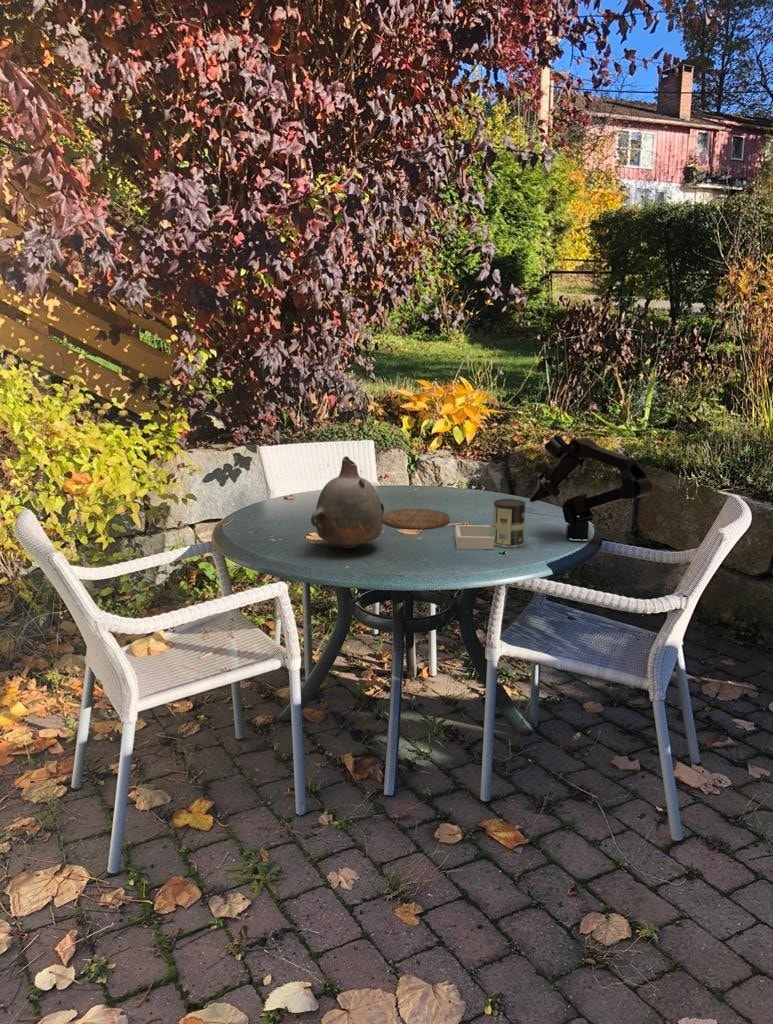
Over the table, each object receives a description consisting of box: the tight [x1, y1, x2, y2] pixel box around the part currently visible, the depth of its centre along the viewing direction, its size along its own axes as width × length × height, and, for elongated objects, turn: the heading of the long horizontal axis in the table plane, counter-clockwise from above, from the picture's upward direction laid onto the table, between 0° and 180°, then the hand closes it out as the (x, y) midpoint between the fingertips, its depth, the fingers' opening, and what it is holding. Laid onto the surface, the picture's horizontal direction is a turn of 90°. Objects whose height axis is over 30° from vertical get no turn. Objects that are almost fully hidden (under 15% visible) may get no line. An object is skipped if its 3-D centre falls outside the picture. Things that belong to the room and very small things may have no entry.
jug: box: [310, 455, 385, 550], centre depth 254 cm, size 24×21×30 cm
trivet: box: [382, 508, 450, 531], centre depth 292 cm, size 25×25×2 cm
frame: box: [454, 524, 495, 550], centre depth 264 cm, size 12×15×4 cm
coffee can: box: [492, 498, 527, 548], centre depth 262 cm, size 10×10×14 cm
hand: (530, 501), depth 270 cm, fingers closed
